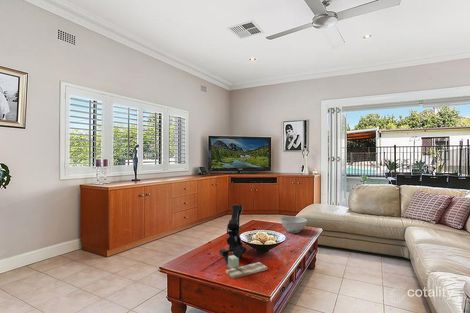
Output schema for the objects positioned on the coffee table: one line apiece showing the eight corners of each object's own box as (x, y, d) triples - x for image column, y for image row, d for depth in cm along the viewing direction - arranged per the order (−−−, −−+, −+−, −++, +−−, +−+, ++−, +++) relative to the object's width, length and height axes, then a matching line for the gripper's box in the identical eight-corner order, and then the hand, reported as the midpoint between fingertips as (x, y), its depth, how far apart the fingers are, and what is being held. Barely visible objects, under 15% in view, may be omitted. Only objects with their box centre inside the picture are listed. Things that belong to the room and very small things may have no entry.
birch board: (225, 272, 171) (225, 270, 171) (259, 264, 185) (259, 261, 185) (233, 278, 162) (233, 276, 162) (267, 269, 176) (267, 267, 176)
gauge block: (225, 264, 183) (225, 255, 183) (231, 263, 186) (231, 253, 186) (232, 270, 175) (232, 260, 175) (238, 268, 177) (238, 258, 177)
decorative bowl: (308, 228, 274) (308, 217, 274) (305, 236, 249) (305, 223, 249) (282, 226, 283) (282, 215, 283) (277, 233, 258) (278, 221, 258)
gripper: (226, 246, 167) (226, 270, 167) (250, 241, 176) (250, 264, 176) (219, 241, 177) (219, 264, 177) (242, 237, 186) (242, 258, 186)
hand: (233, 263), depth 179 cm, fingers open, 9 cm apart
